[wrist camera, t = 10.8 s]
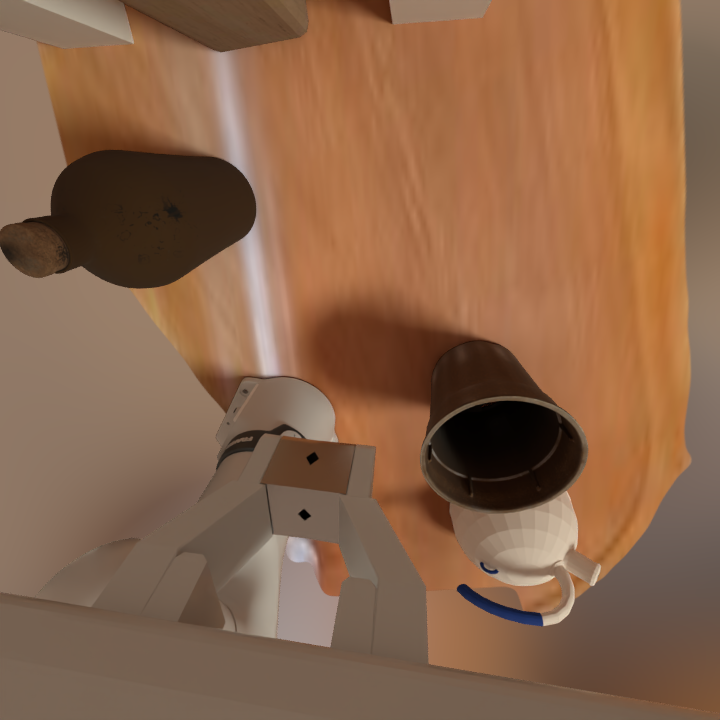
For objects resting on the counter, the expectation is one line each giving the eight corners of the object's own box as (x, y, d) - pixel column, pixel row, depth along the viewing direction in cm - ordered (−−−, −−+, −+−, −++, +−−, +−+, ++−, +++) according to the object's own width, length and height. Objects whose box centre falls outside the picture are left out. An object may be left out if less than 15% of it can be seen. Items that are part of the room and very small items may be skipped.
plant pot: (495, 300, 44) (532, 366, 31) (561, 384, 49) (619, 475, 35) (394, 369, 51) (388, 449, 37) (461, 438, 56) (477, 531, 42)
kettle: (568, 543, 66) (616, 664, 50) (452, 544, 70) (464, 655, 54) (578, 464, 56) (642, 583, 40) (443, 470, 60) (455, 580, 45)
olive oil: (205, 127, 39) (-50, 96, 17) (279, 202, 42) (140, 255, 20) (160, 201, 43) (-84, 249, 22) (230, 264, 46) (75, 361, 25)
